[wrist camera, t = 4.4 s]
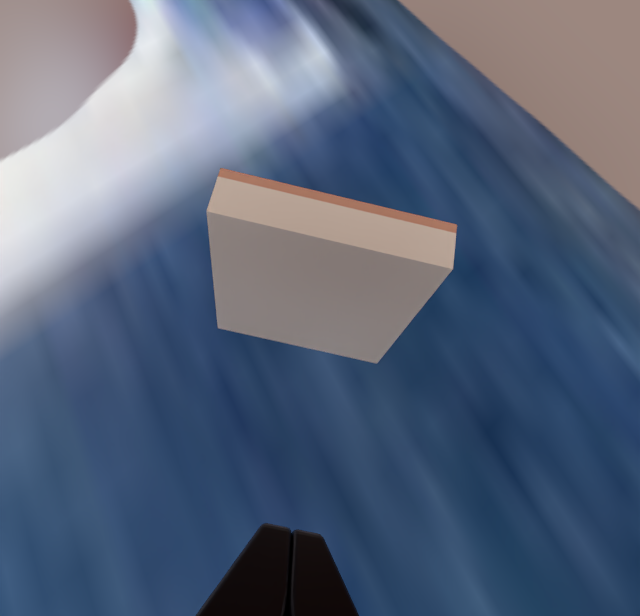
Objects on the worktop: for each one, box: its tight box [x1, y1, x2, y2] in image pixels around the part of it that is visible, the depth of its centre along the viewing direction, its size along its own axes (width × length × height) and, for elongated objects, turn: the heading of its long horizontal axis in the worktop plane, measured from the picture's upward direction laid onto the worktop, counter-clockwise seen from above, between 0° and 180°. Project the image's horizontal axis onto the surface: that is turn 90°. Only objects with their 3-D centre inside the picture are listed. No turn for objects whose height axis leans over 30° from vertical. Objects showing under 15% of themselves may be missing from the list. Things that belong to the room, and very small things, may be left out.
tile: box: [207, 168, 457, 364], centre depth 19 cm, size 2×7×9 cm, turn 79°
